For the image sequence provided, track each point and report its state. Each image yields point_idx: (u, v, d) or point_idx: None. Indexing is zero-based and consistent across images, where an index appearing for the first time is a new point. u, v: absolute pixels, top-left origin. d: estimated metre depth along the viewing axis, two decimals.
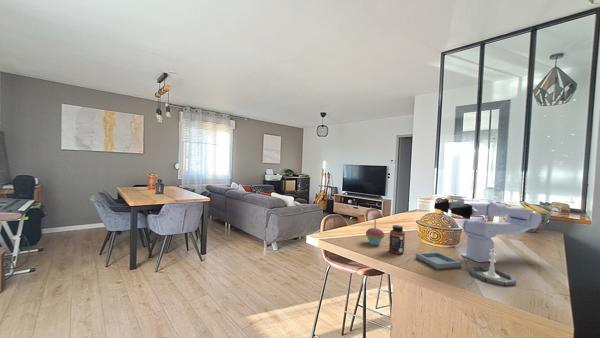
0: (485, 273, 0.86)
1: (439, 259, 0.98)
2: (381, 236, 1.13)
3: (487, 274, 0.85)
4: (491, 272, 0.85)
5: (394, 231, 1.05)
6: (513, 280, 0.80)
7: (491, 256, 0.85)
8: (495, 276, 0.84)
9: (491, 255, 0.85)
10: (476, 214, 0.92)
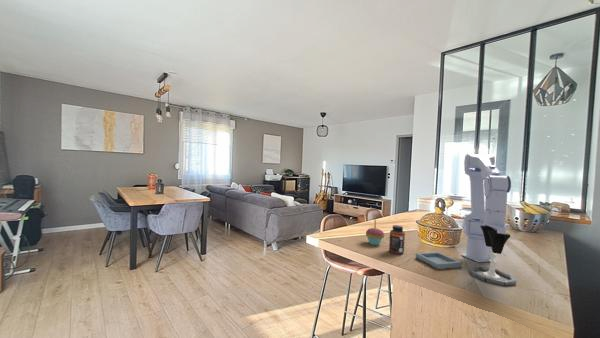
0: (485, 273, 0.86)
1: (439, 259, 0.98)
2: (381, 236, 1.13)
3: (487, 274, 0.85)
4: (491, 272, 0.85)
5: (394, 231, 1.05)
6: (513, 280, 0.80)
7: (491, 256, 0.85)
8: (495, 276, 0.84)
9: (491, 255, 0.85)
10: None
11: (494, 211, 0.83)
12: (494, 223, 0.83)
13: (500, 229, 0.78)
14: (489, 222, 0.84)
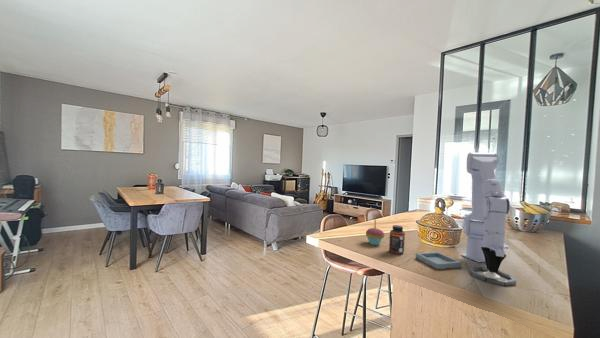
0: (485, 273, 0.86)
1: (439, 259, 0.98)
2: (381, 236, 1.13)
3: (488, 274, 0.85)
4: (491, 272, 0.85)
5: (394, 231, 1.05)
6: (513, 280, 0.80)
7: None
8: (495, 275, 0.84)
9: None
10: None
11: (493, 233, 0.83)
12: (493, 245, 0.83)
13: (499, 252, 0.79)
14: (488, 243, 0.84)
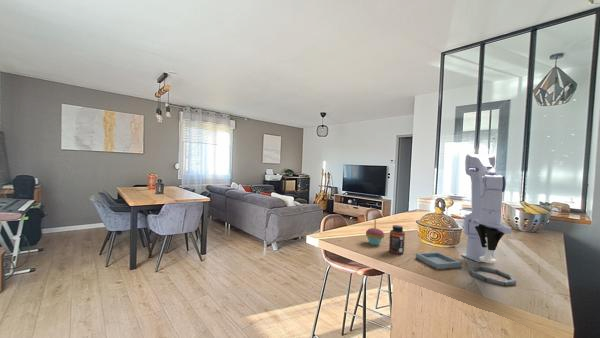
0: (483, 257, 0.86)
1: (439, 259, 0.98)
2: (381, 236, 1.13)
3: (486, 259, 0.85)
4: (489, 256, 0.85)
5: (394, 231, 1.05)
6: (513, 280, 0.80)
7: None
8: (493, 259, 0.84)
9: None
10: None
11: (494, 211, 0.83)
12: (494, 223, 0.83)
13: (507, 229, 0.79)
14: (489, 222, 0.84)
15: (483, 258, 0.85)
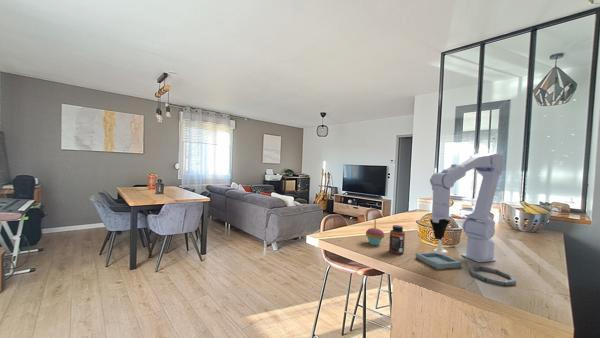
0: (435, 249, 0.97)
1: (439, 259, 0.98)
2: (381, 236, 1.13)
3: (435, 249, 0.96)
4: (438, 248, 0.95)
5: (394, 231, 1.05)
6: (513, 280, 0.80)
7: None
8: (440, 250, 0.94)
9: None
10: None
11: (436, 203, 0.94)
12: (436, 214, 0.94)
13: (434, 218, 0.91)
14: (433, 213, 0.96)
15: (434, 249, 0.97)
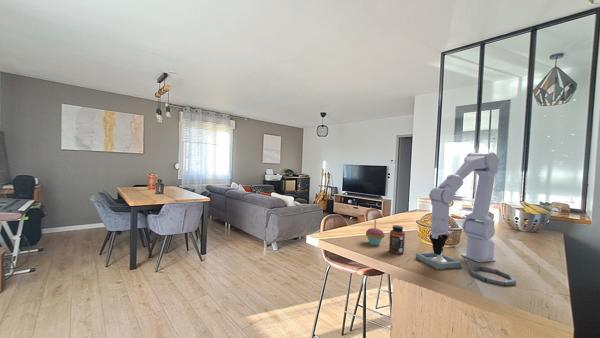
0: None
1: None
2: (381, 236, 1.13)
3: (434, 258, 0.96)
4: (438, 257, 0.95)
5: (394, 231, 1.05)
6: (513, 280, 0.80)
7: None
8: (440, 260, 0.94)
9: None
10: None
11: (435, 219, 0.95)
12: (435, 229, 0.94)
13: (433, 234, 0.91)
14: (432, 228, 0.96)
15: (434, 258, 0.97)
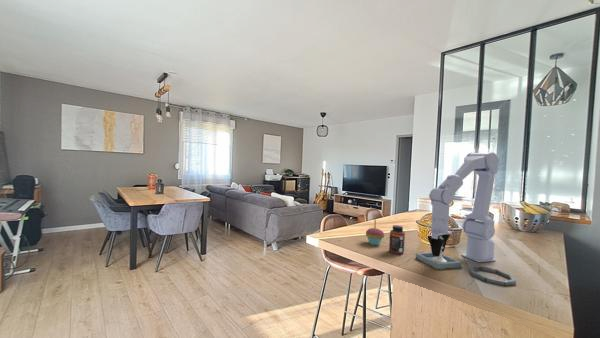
0: None
1: None
2: (381, 236, 1.13)
3: (434, 258, 0.96)
4: (438, 257, 0.95)
5: (394, 231, 1.05)
6: (513, 280, 0.80)
7: None
8: (440, 260, 0.94)
9: None
10: None
11: (435, 219, 0.95)
12: (435, 230, 0.94)
13: (433, 234, 0.91)
14: (432, 228, 0.96)
15: (434, 258, 0.97)
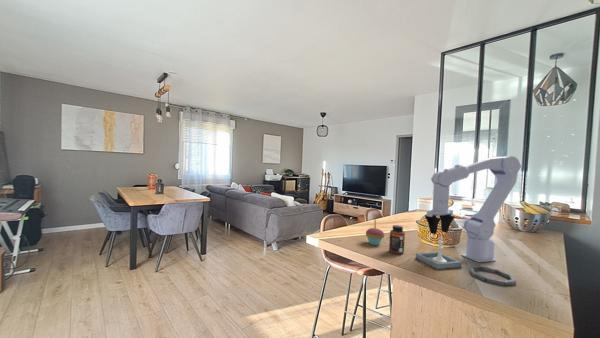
0: None
1: None
2: (381, 236, 1.13)
3: (434, 258, 0.96)
4: (438, 257, 0.95)
5: (394, 231, 1.05)
6: (513, 280, 0.80)
7: (438, 242, 0.95)
8: (440, 260, 0.94)
9: (438, 242, 0.96)
10: None
11: (434, 200, 1.03)
12: (434, 209, 1.03)
13: (428, 213, 1.00)
14: (432, 209, 1.04)
15: (434, 258, 0.97)
